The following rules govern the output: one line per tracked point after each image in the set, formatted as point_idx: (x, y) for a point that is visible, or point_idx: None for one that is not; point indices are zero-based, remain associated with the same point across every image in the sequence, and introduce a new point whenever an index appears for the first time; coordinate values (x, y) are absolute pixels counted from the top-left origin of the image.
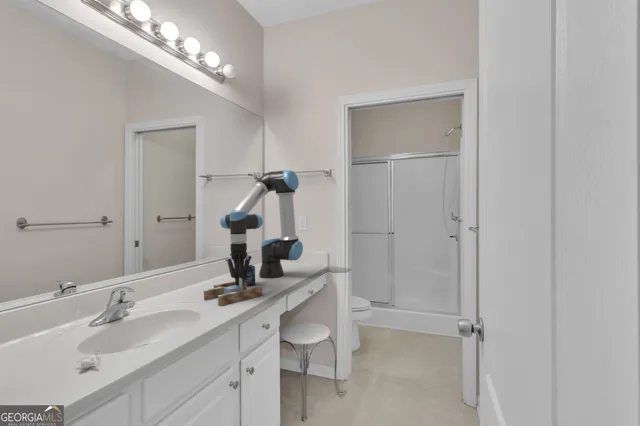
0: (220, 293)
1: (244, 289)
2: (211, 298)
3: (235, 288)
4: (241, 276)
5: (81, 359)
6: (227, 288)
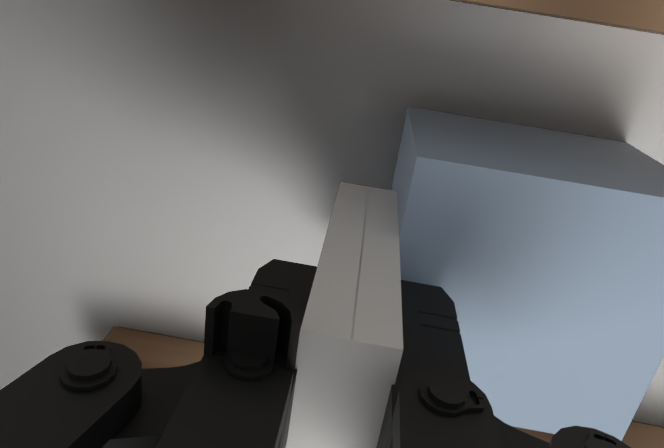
0: (538, 437)
1: (141, 350)
2: (661, 431)
3: (586, 187)
4: (286, 405)
5: None
6: (656, 337)
